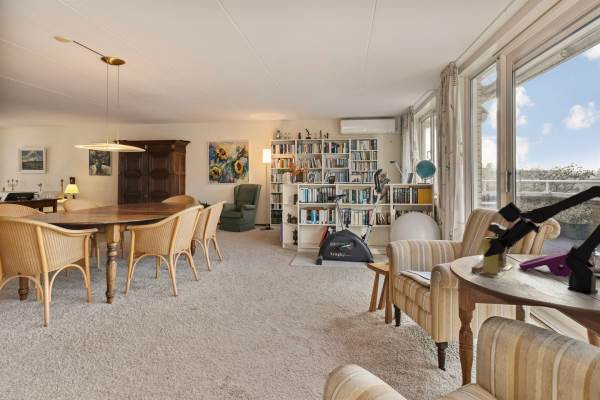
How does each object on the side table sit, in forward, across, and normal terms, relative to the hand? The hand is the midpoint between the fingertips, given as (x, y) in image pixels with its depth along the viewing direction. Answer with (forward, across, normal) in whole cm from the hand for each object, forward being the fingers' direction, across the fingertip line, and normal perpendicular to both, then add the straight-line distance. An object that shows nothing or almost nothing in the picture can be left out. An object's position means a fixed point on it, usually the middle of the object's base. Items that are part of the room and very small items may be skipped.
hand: (487, 254), depth 137 cm
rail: (+6, -7, +6) cm, 10 cm away
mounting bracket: (-6, -19, +18) cm, 27 cm away
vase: (+4, 0, +6) cm, 7 cm away
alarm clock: (+9, -28, +3) cm, 29 cm away
